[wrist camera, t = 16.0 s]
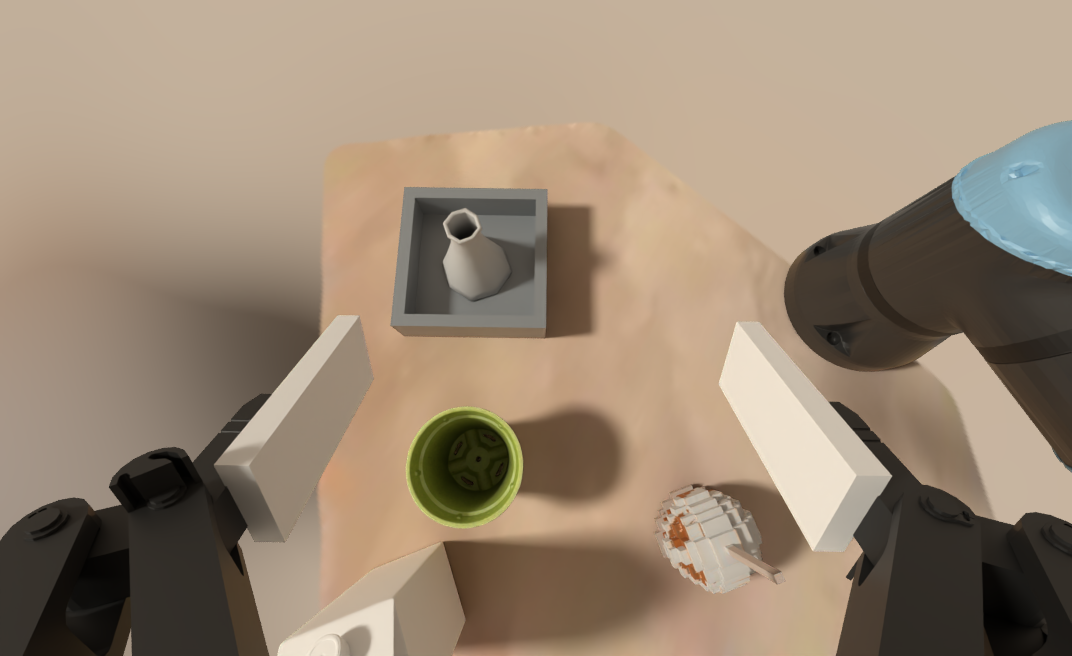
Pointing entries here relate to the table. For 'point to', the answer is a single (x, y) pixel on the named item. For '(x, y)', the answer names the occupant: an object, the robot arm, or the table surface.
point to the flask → (473, 258)
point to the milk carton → (389, 613)
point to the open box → (424, 246)
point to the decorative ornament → (711, 539)
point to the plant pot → (464, 467)
